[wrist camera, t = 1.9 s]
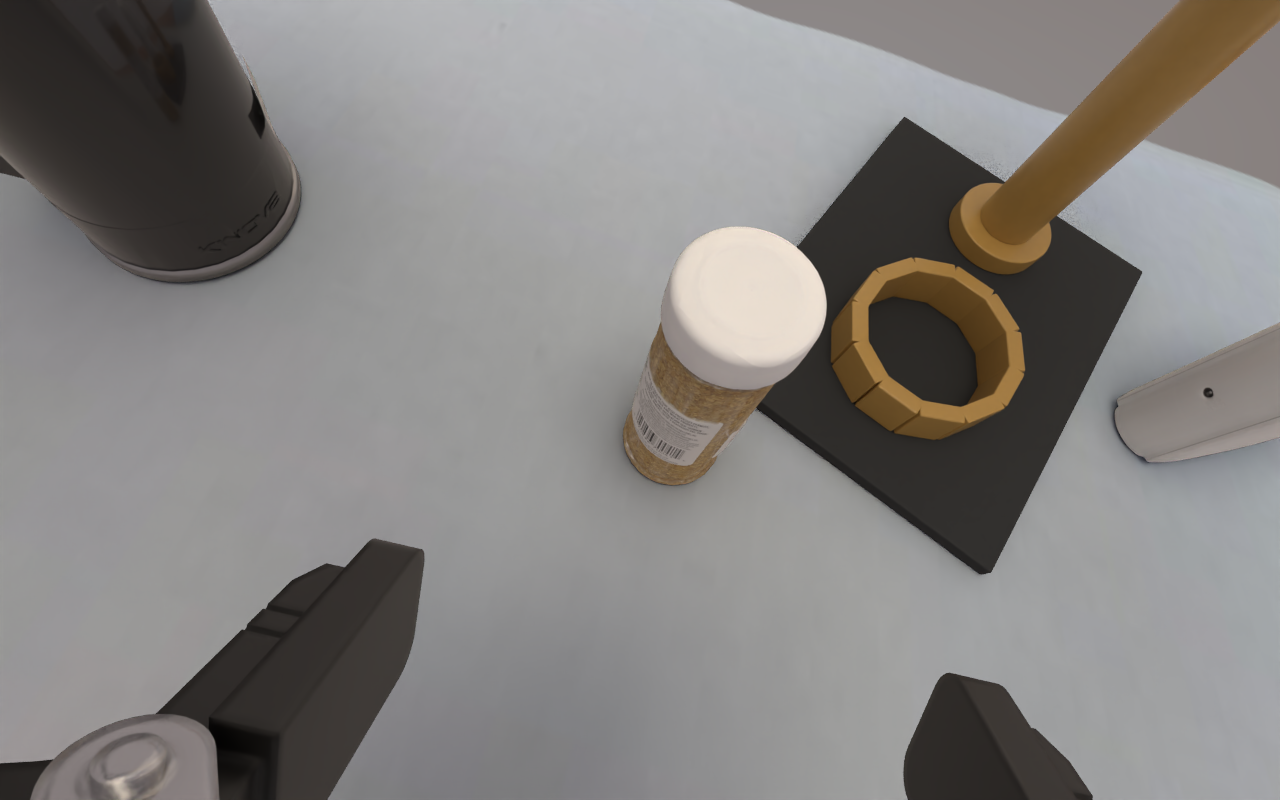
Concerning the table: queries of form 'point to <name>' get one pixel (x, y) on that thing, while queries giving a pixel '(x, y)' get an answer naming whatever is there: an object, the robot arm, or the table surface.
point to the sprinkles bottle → (720, 348)
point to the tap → (1036, 215)
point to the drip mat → (947, 349)
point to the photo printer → (1207, 403)
